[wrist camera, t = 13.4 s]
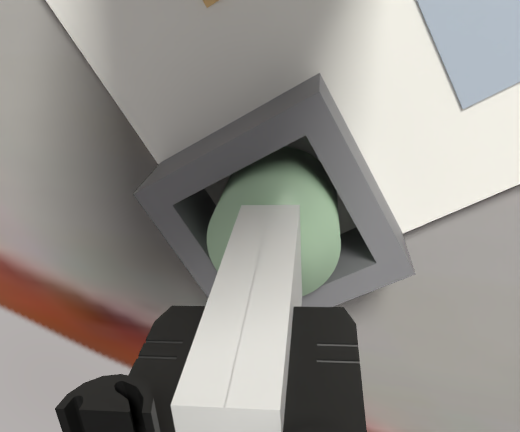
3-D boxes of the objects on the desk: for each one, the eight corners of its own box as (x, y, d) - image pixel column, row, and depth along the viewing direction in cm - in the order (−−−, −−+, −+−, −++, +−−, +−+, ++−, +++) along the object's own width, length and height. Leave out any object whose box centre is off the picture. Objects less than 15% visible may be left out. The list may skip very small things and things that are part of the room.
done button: (205, 178, 16) (180, 219, 13) (303, 125, 15) (299, 159, 12) (261, 263, 17) (250, 318, 14) (356, 221, 16) (364, 271, 13)
